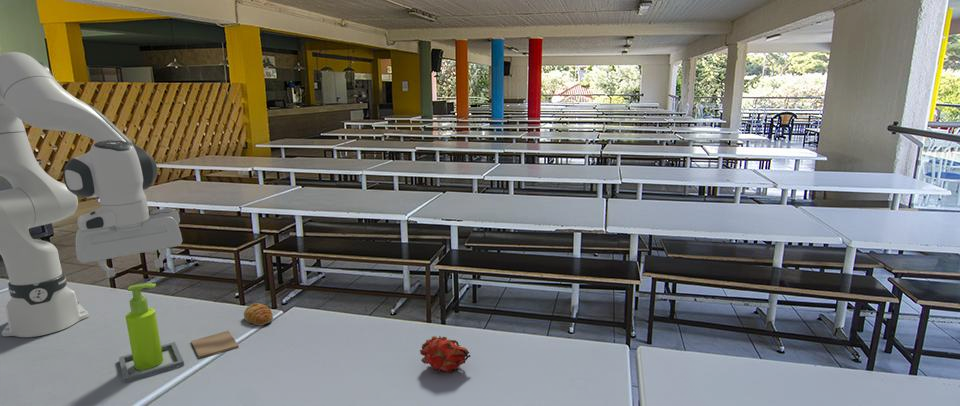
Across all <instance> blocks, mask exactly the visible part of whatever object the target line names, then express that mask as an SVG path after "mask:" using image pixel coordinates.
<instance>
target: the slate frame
mask: <svg viewBox="0 0 960 406" xmlns="http://www.w3.org/2000/svg"><path fill="white" fill-rule="evenodd" d="M161 350H162V352H165V351H167V350H172V352H173V354H174V357H175V359H176V361H174V362H170V363H167V364H163V365H158V366H156V367H154V368H151V369H146V370H141V371H140V372H136V373H133V374H129V371H128V368H127V364H126V362H127V361H131V360H133V355H132V353H129V354H126V355H121V356H119V357H118V361H119V365H120V369H121V373H122V378H123V383H124V384H125V383H129V382H132V381H135V380H139V379H143V378H145V377H149V376H153V375H155V374H158V373H162V372H165V371H169V370H172V369H176V368H179V367H182V366H185V361H184V359H183V357H182V355H181V353H180V350H179V348H178V345H177V344H176V342H175V341H173V342H170V343H166V344H163V345H162V344H161Z"/></svg>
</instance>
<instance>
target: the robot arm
mask: <svg viewBox="0 0 960 406" xmlns="http://www.w3.org/2000/svg"><path fill="white" fill-rule="evenodd" d="M24 123H25V124H27V125H29V126H30V127H33V128H36V129H41V130H47V131H56V132H59V131H60V132H66V133H73V134H76V135H77V134H79V135H82V136H85V137H88V138H90V139H91V140H93V141H94V142H95V143H93V144H92V145H91V147H90V150H89V151H87V152H86V153H84V154H81V155H78V156H75V157H72V158H70V159H69V160H68V162H67V163H66V164H65V166H64V168H63V171H62V176H63V177H62V178H63V181H64V183H63V182H61V181H58V180H56V179H55V178H54V177H52V176H51V175H50V174H48V173H47V172H46V171H45V170H44V169H43V168H42V166H41V165H40V164H39V162H38V161H37V158H36V156H35V154H34V152H33V150H32V147H31V143H30V141H29V138H28V135H27V132H26V131H27V130H26V127H25V125H24ZM157 176H158V165H157V163H156V161H155V159H154V158H153V156H151V154H149V152H147V151H145V150H144V149H143V148H141V147H140V146H138V145H137V144H135V143H134V142H133V141H132V140H131V139H130V138H128V137H127V136H126V134H124V133H123V132H122V131H121V130H120V129H119V128H118V127H117V126H116V125H115V124H114V123H113V122H112V121H111V120H110V119H109V118H107V117H106V115H104V114H103V113H102V112H101V111H100V110H98V108H96V107H94V106H93V105H90V104H89V103H86V102H84V101H82V100H80V99H79V98H77V97H75V96H74V95H72V94H71V93H70V92H68V90H66V89H64V88H63V86H62V85H60V83H59V82H58V81H57V79H55V77H54V75H53V72H52V71H51V70H50V68H49V67H48V66H47V65H46V64H45V63H44V62H41V61H39V60H36V59H35V58H34V57H32V56H31V55H29V54H27V53H23V52H19V51H8V52H4V53H1V54H0V177H2V178H4V179H5V180H7V181H8V182H9V184H10V185H11V187H12V188H9V189H4V190H0V256H1V258H2V260H3V263H4V266H5V270H6V273H7V275H8V276H7V277H8V280H9V282H8V284H7V285H8V286H7V287H8V293H9V295H10V297H11V298H10V300H9V301H8V302H7V303H6V304H5V311H6V317H7V322H8V323H7V325H5V327H4V328H3V330H2V331H1V336H2V337H19V338H34V337H40V336H45V335H49V334H53V333H56V332H59V331H63V330H65V329H68V328H70V327H72V326H73V325H75V324H76V323H79V322H80V321H83V320H84V319H86V318H88V317H90V315H89V311H87V309H85V308H84V307H83V306H82V305H81V304H80V303H79V301H78V299H77V295H76V292H75V291H74V290H73V289H71V288H69V287H68V286H67V285H68V283H67V276H66V275H65V272H64V271H63V270H62V266H61V262H60V261H61V259H60V256H59V255H60V254H59V250H58V248H57V247H56V246H55V245H54V244H53V243H51V242H50V241H47V240H42V239H36V238H33V237H32V236H31V234H30V230H29V229H32V228H33V229H34V228H37V227H40V226H45V225H49V224H53V223H57V222H59V221H62V220H65V219H67V218H69V217H70V216H73V215H74V214H75V213H76V211H77V209H78V205H79V199H78V197H79V198H82V199H85V198H86V199H93V198H98V199H99V201H98V203H99V208H96V209H94V210H92V211H90V212H87V213H83V214H82V215H79V216H78V218H77V222H76V223H77V226H78V230H76V234H75V253H76V260H77V261H78V262H80V263H81V264H86V263H87V264H88V263H93V262H98V265H99V267H100V268H102V270H104V272H106V277H107V279H110V278H114V277H116V273H115V272H116V271H115V268H114V267H108V266H107V260H110V259H114V258H119V257H120V258H121V257H125V256H130V255H131V256H132V255H136V254H141V253H142V254H143V253H147V252H153V251H158V253H159V255H158V256H159V257H158V258H157V259H154V263H155V264H154V265H155V268H156V269H160V268H161V269H162V268H164V262H163V261H164V259H165V258H166V255H167V249H169V248H175V247H180V246H181V244H182V242H183V237H182V232H181V229H180V227H179V224H180V222H181V217H180V213H179V212H178V210H176V209H174V208H171V207H165V208H159V209H149V205H148V199H147V195H146V194H145V192H144V190H145V191H146V190H147V189H149V188H150V187H151V186H152V185H153V183H154V181H156V178H157Z"/></svg>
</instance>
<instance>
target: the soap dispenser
mask: <svg viewBox="0 0 960 406" xmlns="http://www.w3.org/2000/svg"><path fill="white" fill-rule="evenodd" d="M156 285H157V284H156V283H151V282H145V283H137V284H132V285H129V287H128V288H127V290H128V291H127V292H132V298H131V299H130V300H129V301H128V302H129V305H130V306H129V307H130V312H128V313H126V315H125V322H126V327H127V332H128V337H129V343H130V349H131V354H132V355H133V359H132V360H133V365H134V369H136V370H138V371H139V370H140V371H146V370H149V369H153V368H156V367H159V366H161V364H162V363H163V362H164V358H163V357H164V356H163V351H162V350H161V346H162V344H161V339H160V331H159V327H158V321H157V314H156V310H155V309H154V308H152V307H149V306H148V300H147V296H143V295H142V290H143V289H154V288H155V287H156Z"/></svg>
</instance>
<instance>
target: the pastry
mask: <svg viewBox="0 0 960 406" xmlns="http://www.w3.org/2000/svg"><path fill="white" fill-rule="evenodd" d="M243 317H244V320H245V321H246V322H247V323H250V324H252V325H255V326H264V325H266V324H269V323H271V322H272V321H273V319H274V317H273V313H272V309H270V307H268V305H266V304H261V303H256V302H255V303H252V304H250V305H249V306H247V308H245V310H244V312H243Z"/></svg>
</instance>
